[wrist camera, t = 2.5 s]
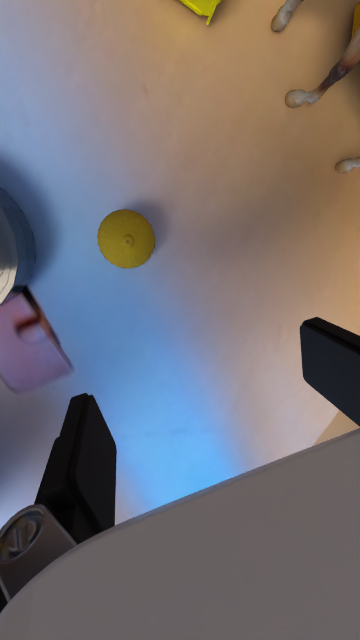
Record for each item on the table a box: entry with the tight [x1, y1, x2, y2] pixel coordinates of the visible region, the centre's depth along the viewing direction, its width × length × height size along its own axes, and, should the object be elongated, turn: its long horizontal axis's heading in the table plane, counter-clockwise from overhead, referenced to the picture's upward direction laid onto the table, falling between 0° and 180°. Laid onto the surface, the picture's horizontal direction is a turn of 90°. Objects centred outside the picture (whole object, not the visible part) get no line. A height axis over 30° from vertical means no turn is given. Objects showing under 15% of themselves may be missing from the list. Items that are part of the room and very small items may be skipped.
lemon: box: [97, 209, 155, 268], centre depth 25 cm, size 6×6×8 cm
